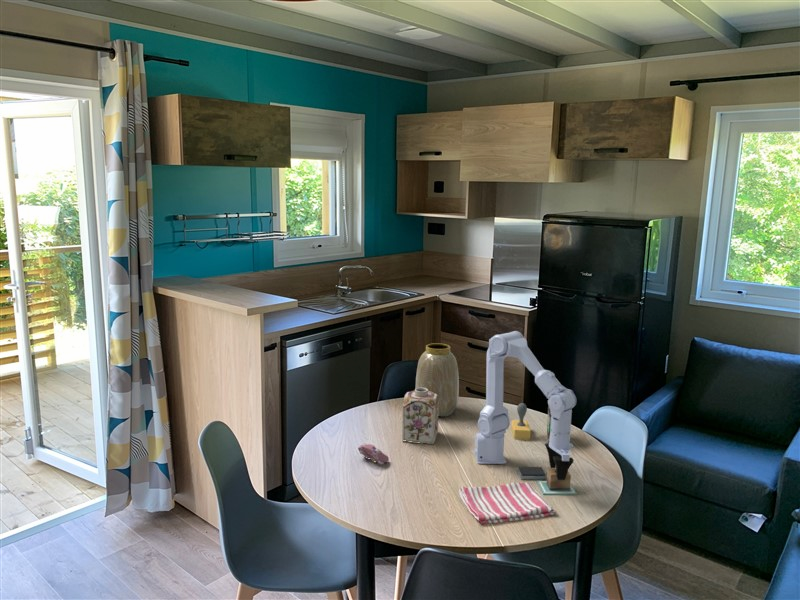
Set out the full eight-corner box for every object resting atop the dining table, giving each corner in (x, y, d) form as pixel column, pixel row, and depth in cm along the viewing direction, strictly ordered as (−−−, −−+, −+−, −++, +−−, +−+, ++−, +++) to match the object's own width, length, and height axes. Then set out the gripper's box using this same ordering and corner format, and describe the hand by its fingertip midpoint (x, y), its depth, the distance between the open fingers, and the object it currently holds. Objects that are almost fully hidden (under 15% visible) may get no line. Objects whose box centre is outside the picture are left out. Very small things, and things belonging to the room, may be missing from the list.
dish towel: (457, 496, 180) (457, 485, 179) (530, 488, 185) (530, 477, 185) (478, 527, 163) (478, 515, 163) (557, 517, 169) (558, 505, 168)
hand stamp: (549, 490, 182) (551, 469, 181) (546, 484, 186) (547, 463, 185) (569, 490, 182) (571, 469, 181) (566, 484, 186) (567, 463, 185)
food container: (565, 446, 214) (567, 419, 213) (547, 444, 216) (549, 417, 214) (563, 432, 226) (565, 407, 225) (546, 431, 228) (548, 405, 226)
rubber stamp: (530, 440, 220) (532, 408, 217) (514, 439, 220) (515, 407, 218) (526, 429, 229) (528, 398, 227) (511, 428, 230) (512, 398, 228)
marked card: (543, 494, 180) (543, 493, 180) (536, 481, 188) (536, 480, 188) (577, 494, 181) (577, 493, 180) (569, 481, 188) (569, 480, 188)
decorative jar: (438, 432, 225) (439, 385, 222) (434, 445, 214) (435, 395, 211) (406, 429, 227) (407, 383, 224) (401, 442, 216) (401, 393, 213)
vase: (466, 411, 247) (468, 346, 242) (439, 422, 235) (440, 354, 230) (434, 400, 258) (435, 338, 254) (406, 411, 246) (407, 346, 241)
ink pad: (521, 479, 190) (521, 475, 189) (517, 470, 195) (517, 466, 195) (546, 479, 190) (547, 475, 189) (542, 470, 196) (542, 466, 195)
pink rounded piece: (360, 461, 204) (354, 446, 201) (369, 451, 207) (362, 436, 204) (382, 470, 198) (375, 455, 194) (390, 460, 201) (384, 445, 197)
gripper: (581, 440, 174) (578, 484, 177) (566, 421, 188) (563, 462, 191) (556, 440, 174) (553, 484, 176) (543, 421, 188) (541, 462, 191)
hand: (557, 473), depth 184 cm, fingers open, 7 cm apart
